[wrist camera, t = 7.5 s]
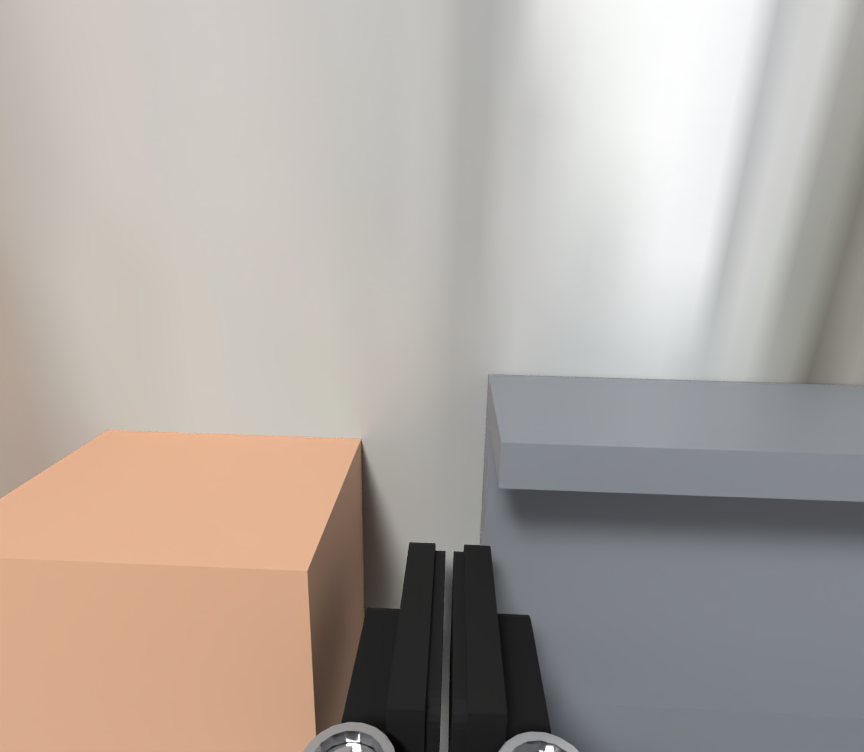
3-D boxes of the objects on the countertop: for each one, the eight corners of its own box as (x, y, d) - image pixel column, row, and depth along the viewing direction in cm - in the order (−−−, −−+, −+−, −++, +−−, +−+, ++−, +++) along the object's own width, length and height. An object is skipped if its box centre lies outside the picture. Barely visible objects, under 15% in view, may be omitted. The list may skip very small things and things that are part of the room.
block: (307, 571, 8) (-87, 554, 8) (320, 817, 10) (-16, 798, 10) (361, 437, 13) (109, 428, 13) (364, 615, 14) (138, 605, 15)
